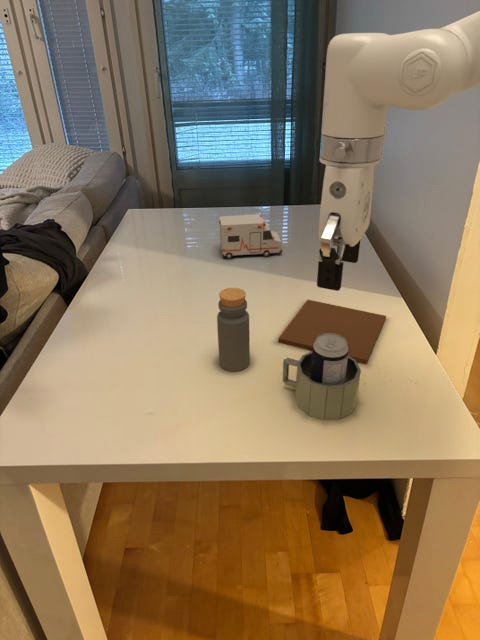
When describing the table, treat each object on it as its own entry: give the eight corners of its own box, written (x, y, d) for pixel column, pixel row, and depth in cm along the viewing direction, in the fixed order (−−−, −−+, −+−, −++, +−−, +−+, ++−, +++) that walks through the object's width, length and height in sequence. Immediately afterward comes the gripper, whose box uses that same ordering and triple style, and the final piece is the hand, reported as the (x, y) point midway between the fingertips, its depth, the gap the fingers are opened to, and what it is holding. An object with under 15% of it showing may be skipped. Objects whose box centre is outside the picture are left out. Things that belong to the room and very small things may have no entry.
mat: (385, 319, 102) (386, 315, 101) (366, 364, 88) (367, 360, 88) (307, 303, 109) (307, 299, 108) (278, 342, 95) (278, 338, 95)
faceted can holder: (361, 390, 82) (366, 358, 78) (346, 427, 74) (350, 393, 71) (292, 371, 87) (294, 340, 83) (271, 404, 79) (272, 371, 76)
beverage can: (344, 392, 81) (351, 335, 75) (339, 414, 77) (346, 354, 71) (312, 386, 83) (317, 329, 77) (305, 406, 78) (309, 348, 72)
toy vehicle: (282, 257, 132) (284, 223, 127) (222, 260, 131) (220, 226, 125) (276, 244, 140) (277, 212, 135) (219, 247, 139) (218, 215, 134)
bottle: (241, 350, 93) (240, 283, 85) (255, 366, 88) (254, 296, 81) (214, 358, 91) (210, 290, 83) (227, 375, 86) (224, 304, 78)
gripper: (365, 167, 50) (349, 306, 59) (393, 138, 63) (376, 255, 72) (299, 161, 53) (292, 295, 62) (339, 135, 66) (329, 248, 75)
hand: (338, 273), depth 67 cm, fingers open, 9 cm apart
